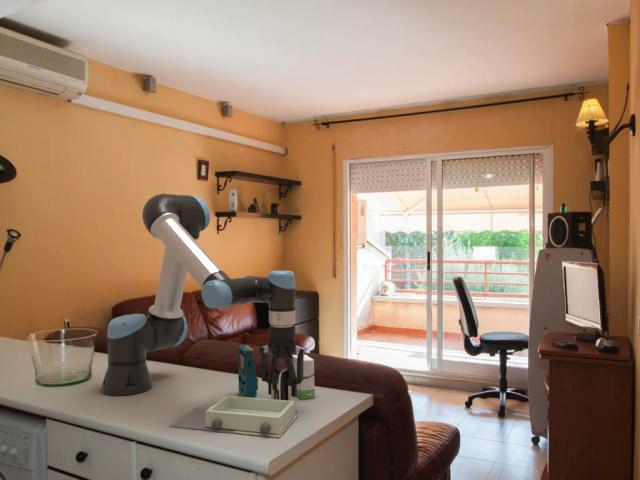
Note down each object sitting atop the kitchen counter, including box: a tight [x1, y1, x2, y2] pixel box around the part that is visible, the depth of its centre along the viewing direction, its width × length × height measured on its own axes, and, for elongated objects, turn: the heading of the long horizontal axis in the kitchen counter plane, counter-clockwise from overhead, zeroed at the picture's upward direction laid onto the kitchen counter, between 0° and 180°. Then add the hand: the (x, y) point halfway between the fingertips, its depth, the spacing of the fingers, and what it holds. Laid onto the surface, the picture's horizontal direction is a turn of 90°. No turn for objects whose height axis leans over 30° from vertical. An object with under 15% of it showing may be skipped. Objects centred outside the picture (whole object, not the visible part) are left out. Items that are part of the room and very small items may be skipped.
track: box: [169, 406, 298, 439], centre depth 135 cm, size 30×15×1 cm, turn 75°
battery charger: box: [272, 367, 291, 401], centre depth 145 cm, size 7×4×11 cm, turn 156°
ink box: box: [292, 354, 316, 400], centre depth 158 cm, size 9×5×12 cm, turn 20°
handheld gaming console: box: [237, 344, 259, 398], centre depth 156 cm, size 10×4×15 cm, turn 23°
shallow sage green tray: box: [205, 395, 296, 435], centre depth 134 cm, size 20×15×4 cm
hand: (282, 406), depth 145 cm, fingers closed on battery charger, 4 cm apart
